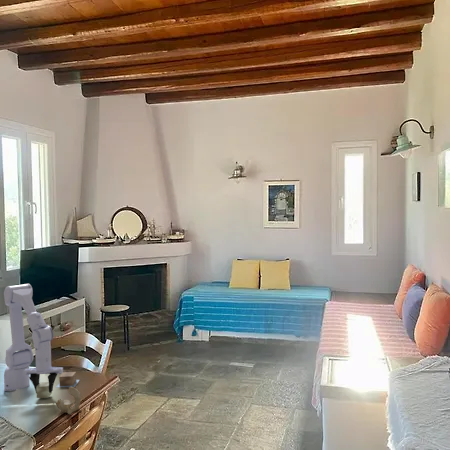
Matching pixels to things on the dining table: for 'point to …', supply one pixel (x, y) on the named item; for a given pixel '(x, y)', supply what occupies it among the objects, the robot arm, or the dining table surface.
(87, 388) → the dining table surface
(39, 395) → the sage block
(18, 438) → the dining table surface
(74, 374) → the walnut base
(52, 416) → the dining table surface
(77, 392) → the beige lumpy piece
